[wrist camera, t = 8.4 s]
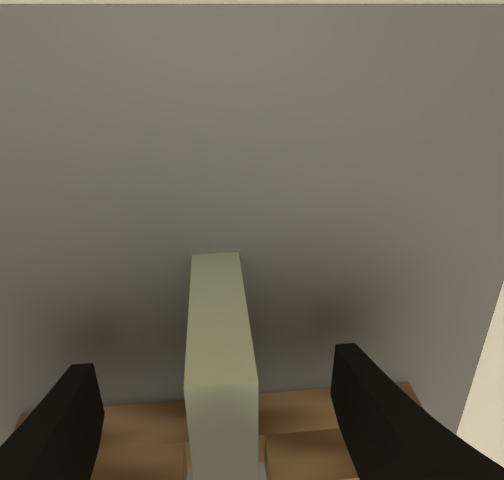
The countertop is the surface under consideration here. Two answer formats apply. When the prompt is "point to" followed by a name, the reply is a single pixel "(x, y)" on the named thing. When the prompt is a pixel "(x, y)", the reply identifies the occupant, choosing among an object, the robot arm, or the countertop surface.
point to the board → (249, 191)
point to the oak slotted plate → (269, 439)
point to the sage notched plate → (220, 372)
